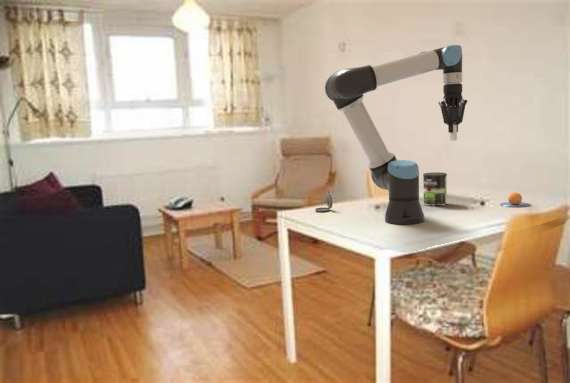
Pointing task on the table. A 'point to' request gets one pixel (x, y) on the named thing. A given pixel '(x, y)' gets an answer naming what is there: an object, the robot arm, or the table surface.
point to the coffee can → (435, 188)
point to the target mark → (515, 205)
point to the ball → (515, 198)
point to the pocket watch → (329, 204)
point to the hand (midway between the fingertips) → (453, 140)
